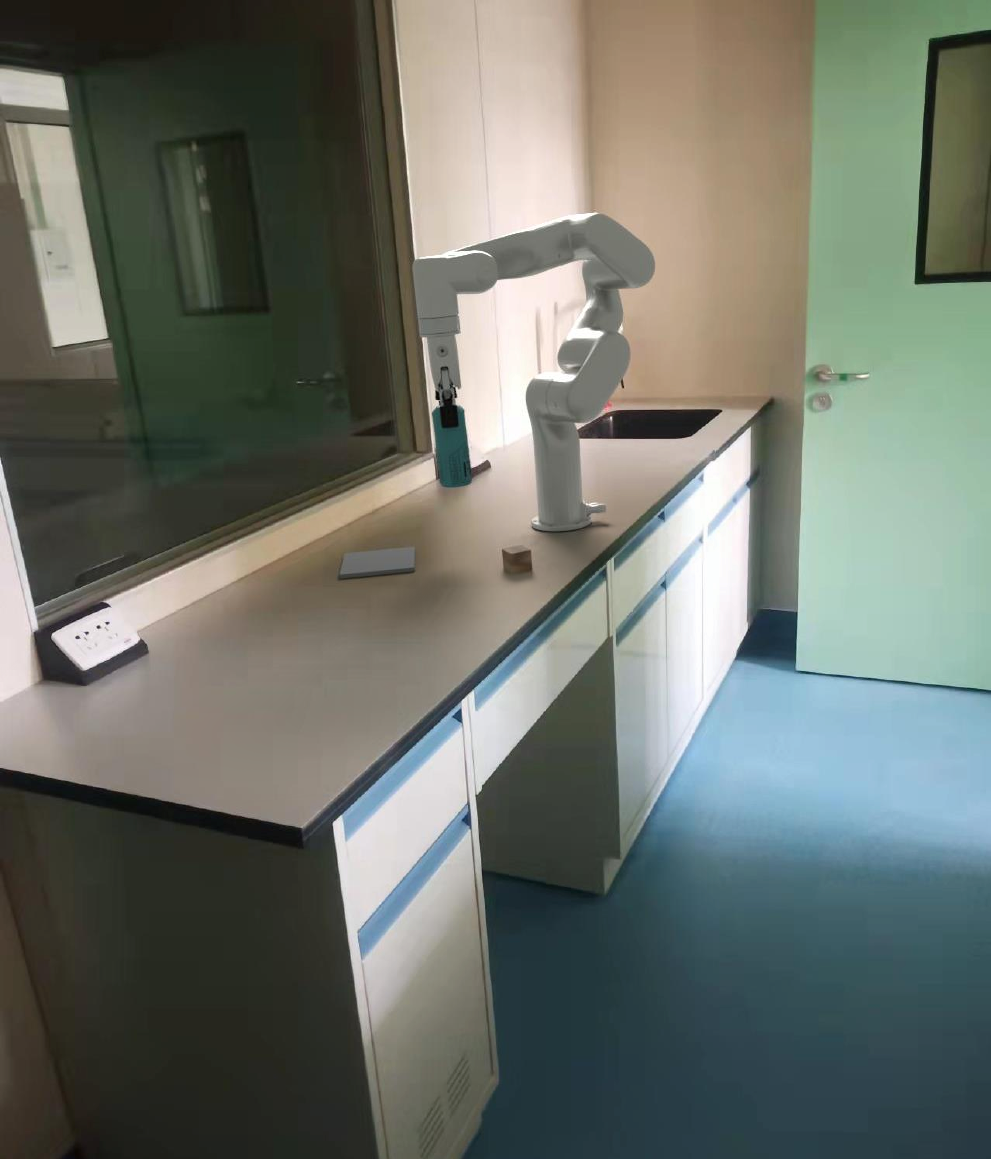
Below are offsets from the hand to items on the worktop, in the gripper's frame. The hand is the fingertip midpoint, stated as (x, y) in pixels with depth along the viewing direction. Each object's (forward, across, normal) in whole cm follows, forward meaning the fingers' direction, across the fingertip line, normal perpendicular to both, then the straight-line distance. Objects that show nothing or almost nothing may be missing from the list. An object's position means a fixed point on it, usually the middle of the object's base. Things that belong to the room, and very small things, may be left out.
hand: (449, 423), depth 186 cm
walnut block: (+26, -14, -9) cm, 31 cm away
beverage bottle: (+13, 0, 0) cm, 13 cm away
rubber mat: (+25, -2, +17) cm, 30 cm away
